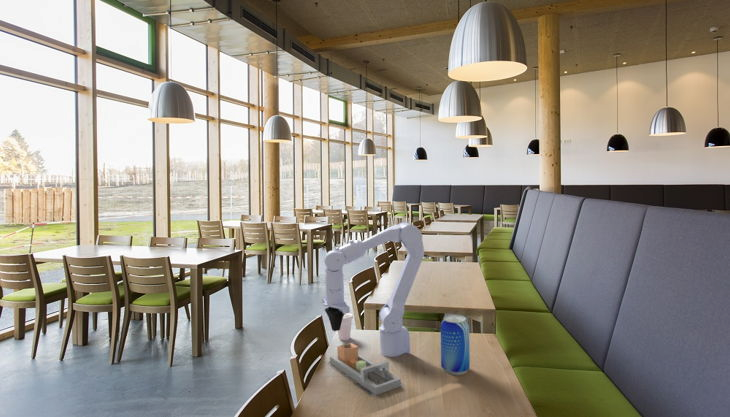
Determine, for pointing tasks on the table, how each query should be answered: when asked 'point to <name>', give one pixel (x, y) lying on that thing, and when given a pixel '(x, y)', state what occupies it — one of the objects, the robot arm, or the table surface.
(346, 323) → the smoothie
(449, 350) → the beer can
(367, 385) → the gray divided tray
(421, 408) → the table surface
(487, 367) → the table surface
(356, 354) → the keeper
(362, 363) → the pale green cube
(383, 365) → the gate
